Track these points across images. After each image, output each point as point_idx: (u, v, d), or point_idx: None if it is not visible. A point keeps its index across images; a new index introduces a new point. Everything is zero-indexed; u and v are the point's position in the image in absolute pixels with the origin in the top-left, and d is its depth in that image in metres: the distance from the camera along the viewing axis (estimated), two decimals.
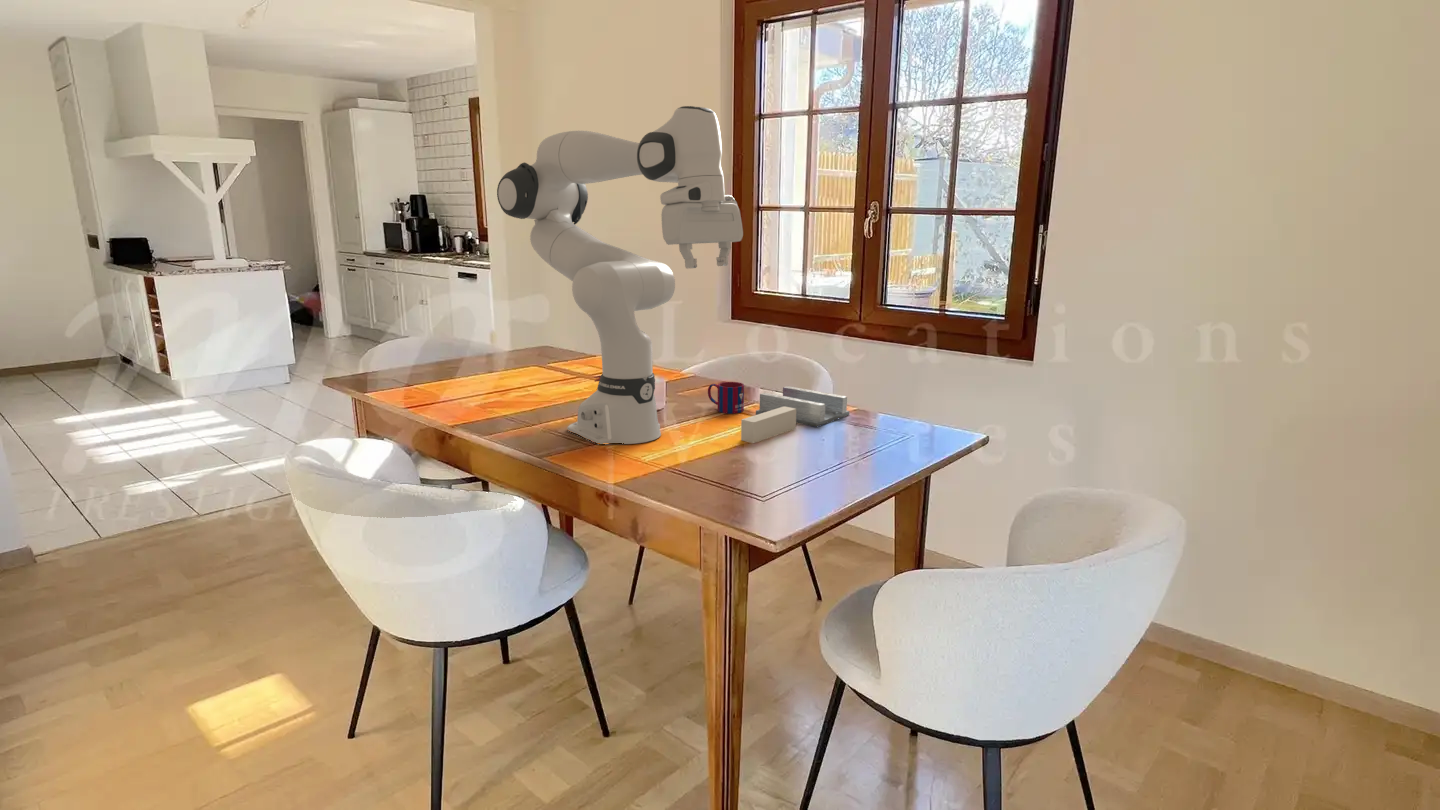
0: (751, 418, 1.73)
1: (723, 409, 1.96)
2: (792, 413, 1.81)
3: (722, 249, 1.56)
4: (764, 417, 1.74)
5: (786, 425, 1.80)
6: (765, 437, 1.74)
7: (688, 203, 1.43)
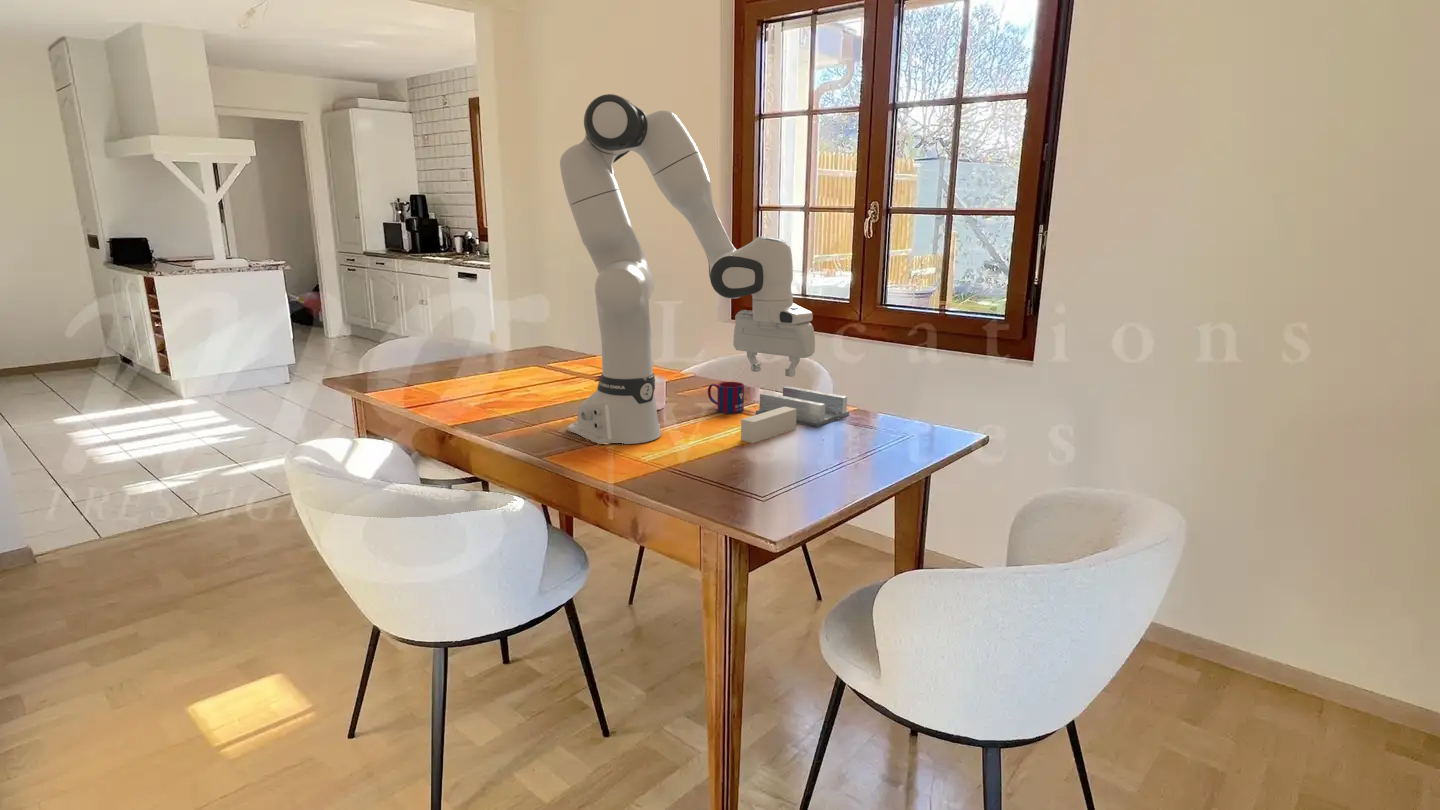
0: (751, 418, 1.73)
1: (723, 409, 1.96)
2: (792, 413, 1.81)
3: (751, 357, 1.77)
4: (764, 417, 1.74)
5: (787, 425, 1.80)
6: (765, 437, 1.74)
7: None
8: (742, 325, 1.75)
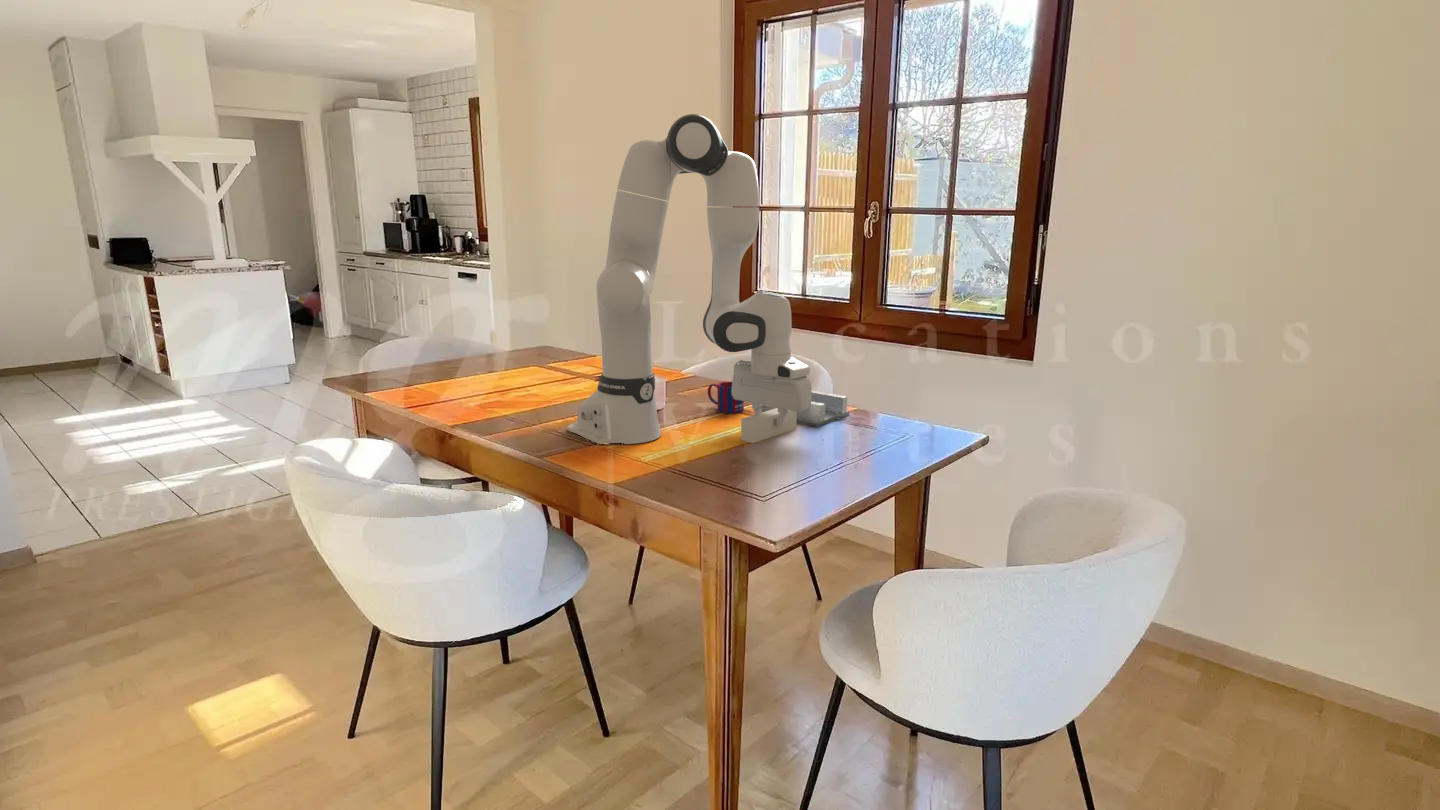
0: (751, 417, 1.73)
1: (723, 409, 1.96)
2: (792, 413, 1.81)
3: (756, 408, 1.79)
4: (764, 416, 1.74)
5: (787, 425, 1.80)
6: (765, 436, 1.74)
7: None
8: (740, 375, 1.78)
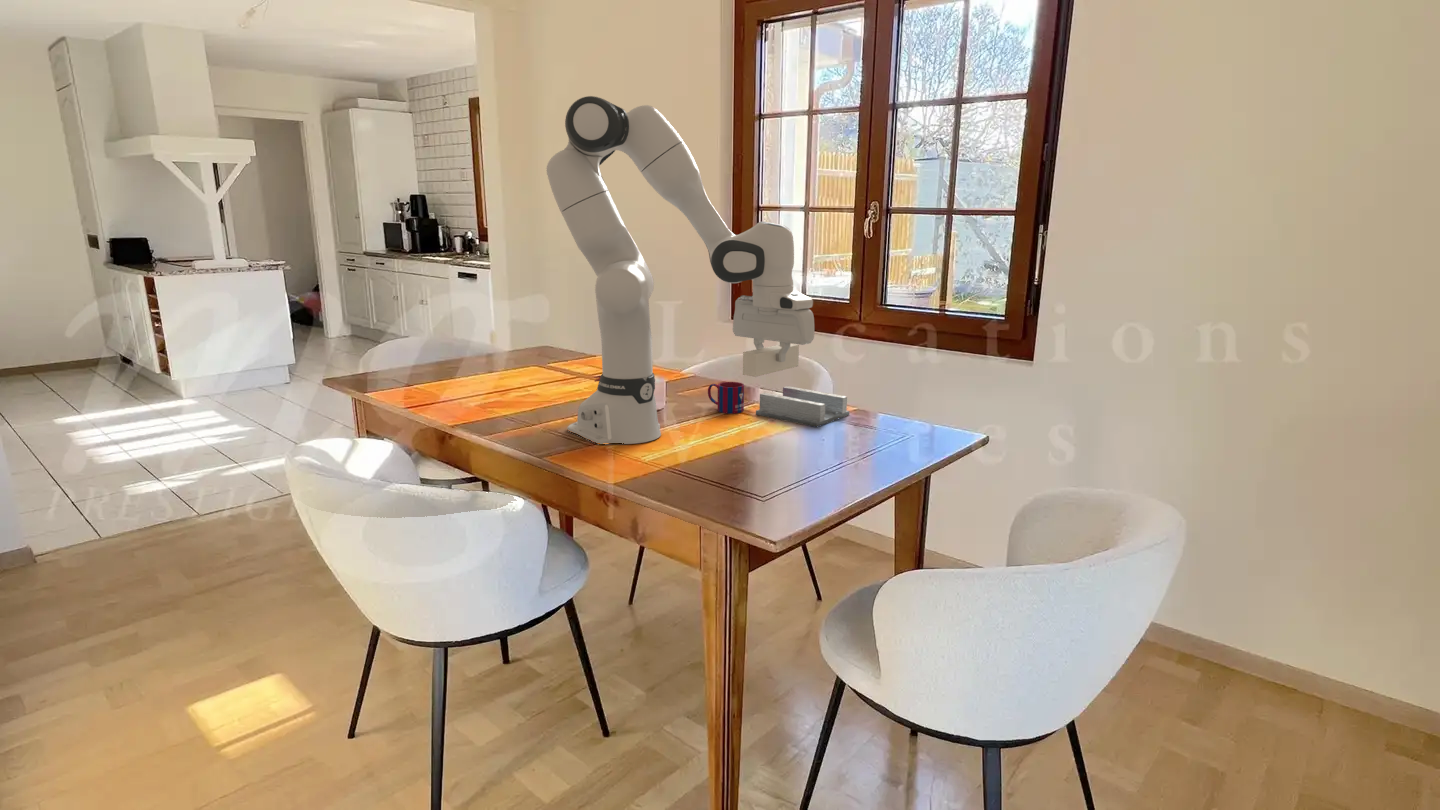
0: (753, 351, 1.70)
1: (723, 409, 1.96)
2: (794, 349, 1.78)
3: (758, 344, 1.75)
4: (766, 350, 1.71)
5: (789, 361, 1.77)
6: (767, 371, 1.71)
7: None
8: (742, 310, 1.75)
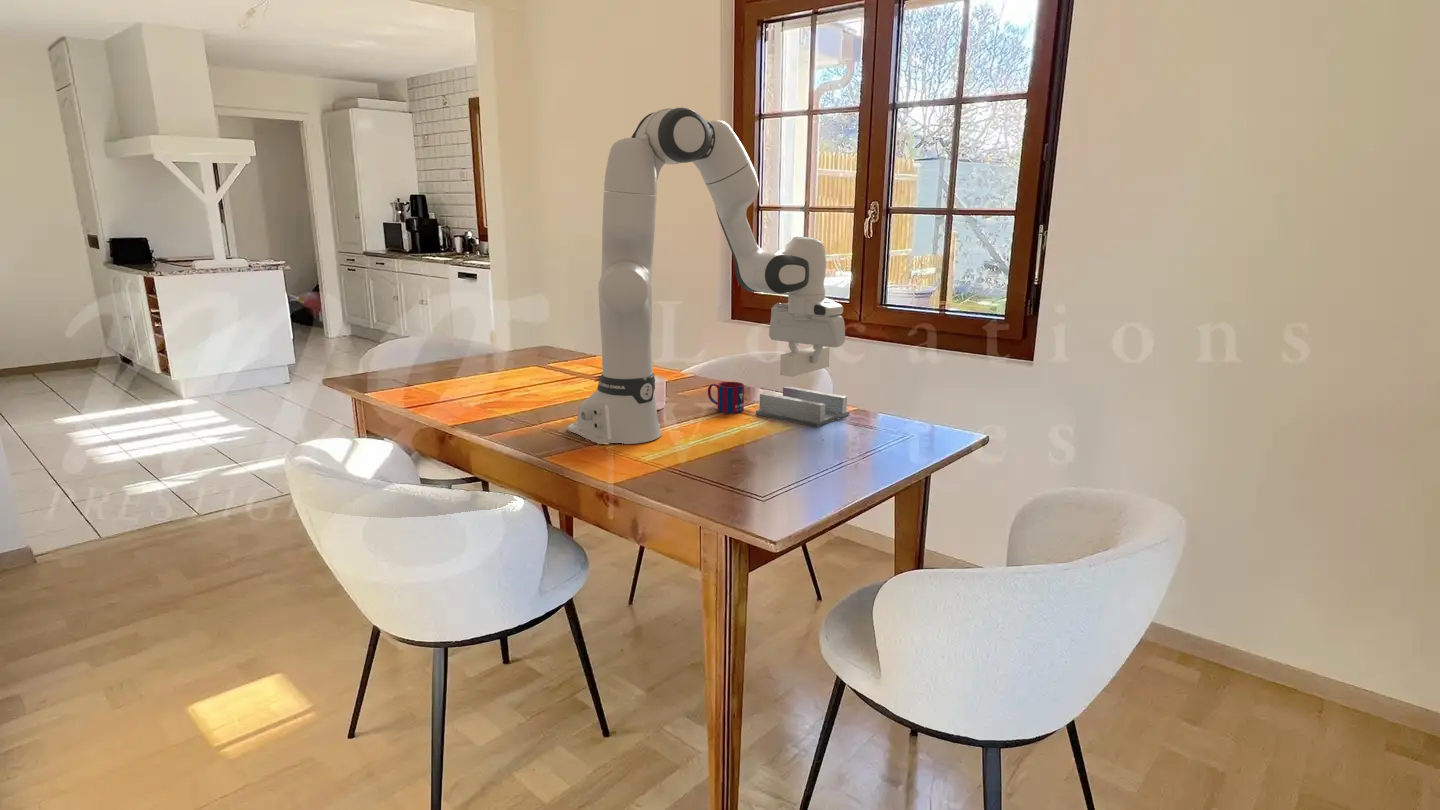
0: (789, 353, 1.88)
1: (723, 409, 1.96)
2: (826, 351, 1.95)
3: (793, 347, 1.93)
4: (801, 353, 1.88)
5: (821, 362, 1.94)
6: (802, 371, 1.89)
7: None
8: (778, 317, 1.92)
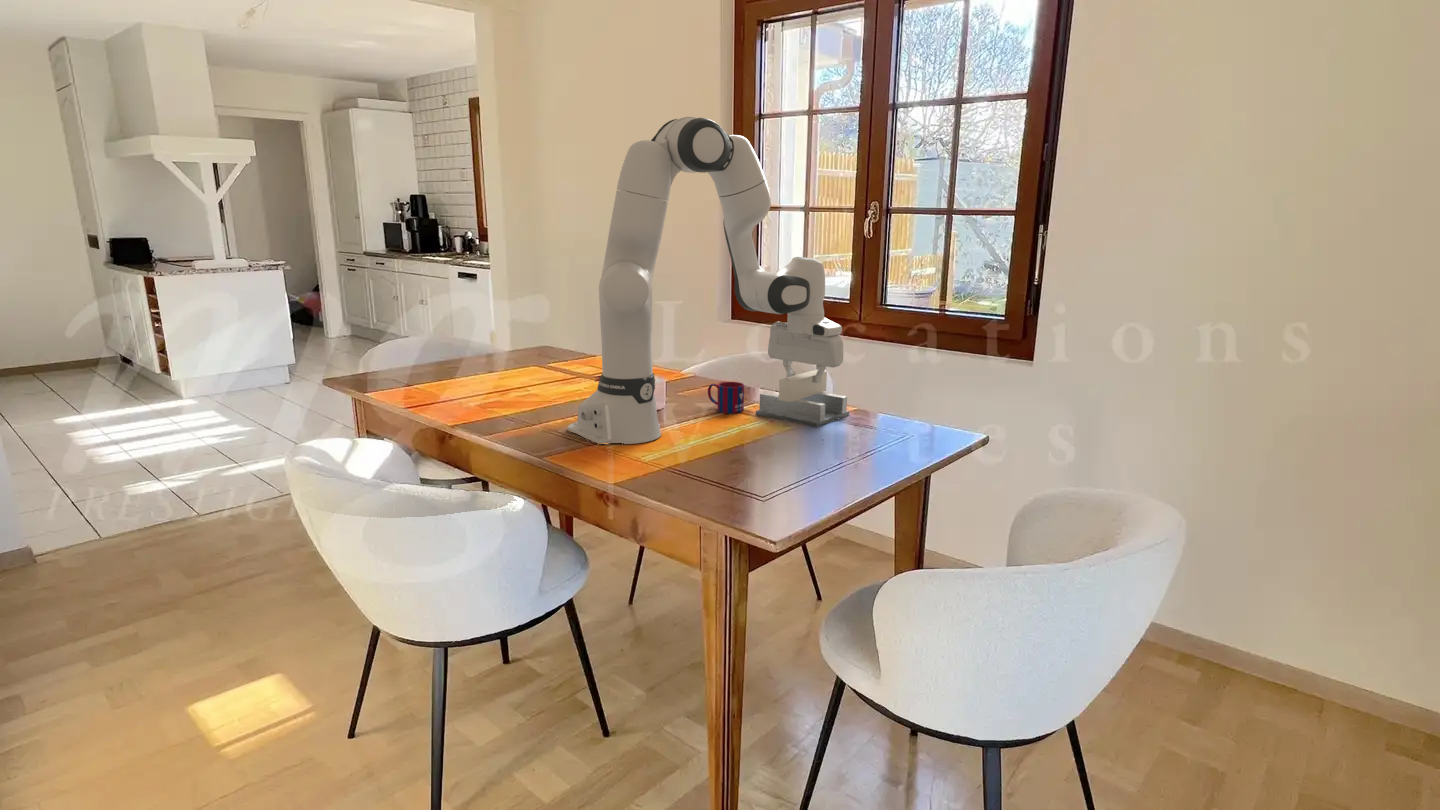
0: (788, 378, 1.89)
1: (723, 409, 1.96)
2: (823, 376, 1.97)
3: (787, 365, 1.95)
4: (799, 378, 1.90)
5: (818, 386, 1.96)
6: (800, 396, 1.90)
7: None
8: (777, 335, 1.93)
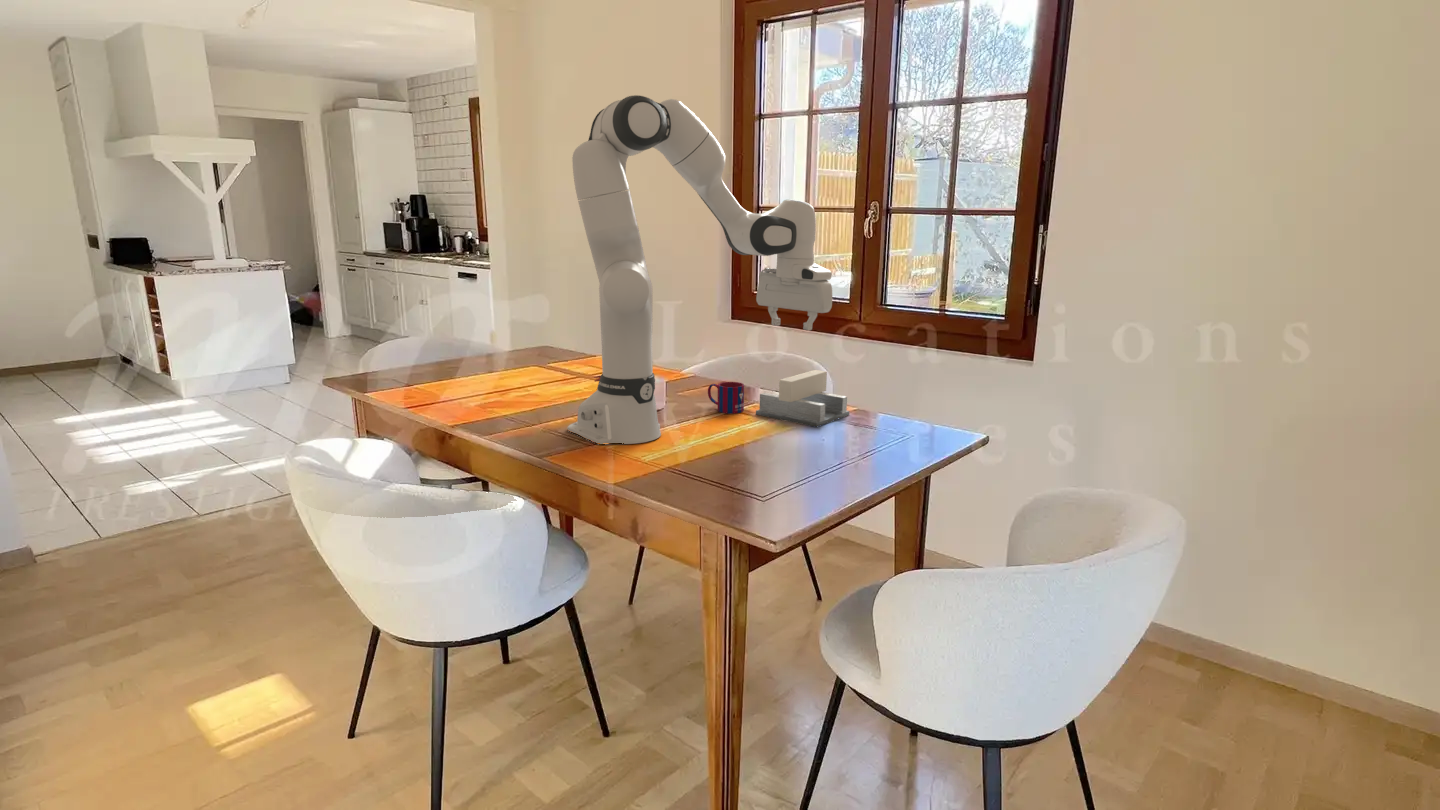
0: (788, 378, 1.89)
1: (723, 409, 1.96)
2: (823, 376, 1.97)
3: (772, 312, 1.92)
4: (799, 378, 1.90)
5: (818, 386, 1.96)
6: (800, 396, 1.90)
7: None
8: (765, 281, 1.90)
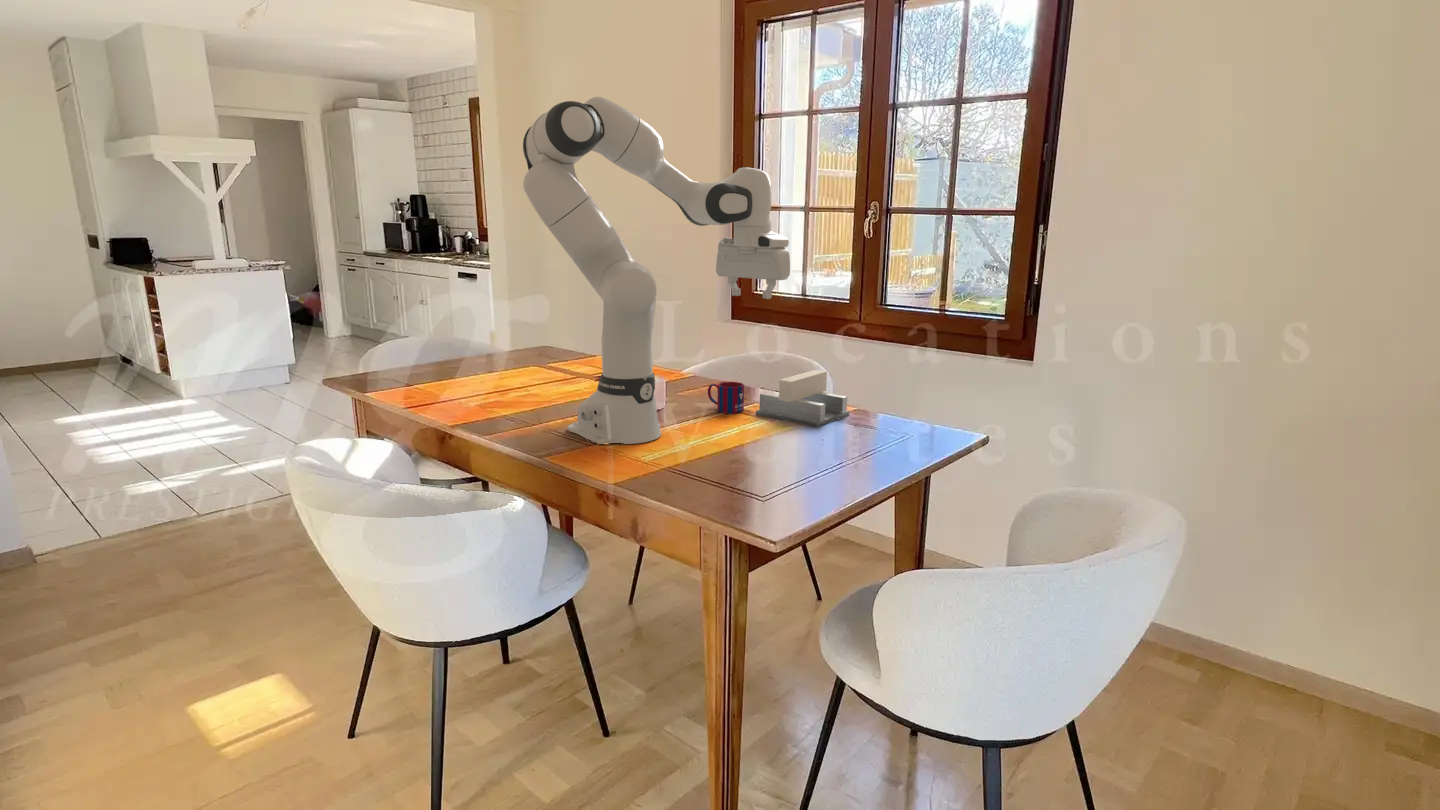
0: (788, 378, 1.89)
1: (723, 409, 1.96)
2: (823, 376, 1.97)
3: (732, 282, 1.92)
4: (799, 378, 1.90)
5: (818, 386, 1.96)
6: (800, 396, 1.90)
7: None
8: (724, 251, 1.90)
